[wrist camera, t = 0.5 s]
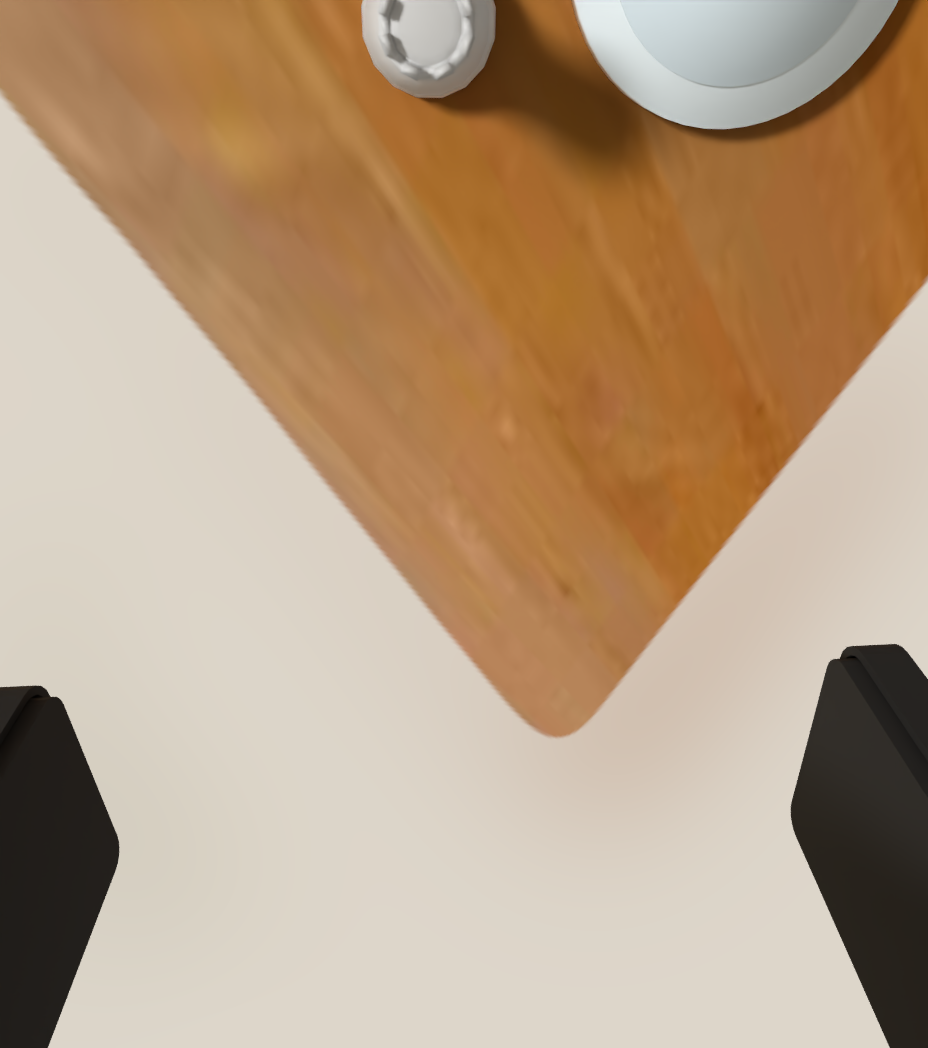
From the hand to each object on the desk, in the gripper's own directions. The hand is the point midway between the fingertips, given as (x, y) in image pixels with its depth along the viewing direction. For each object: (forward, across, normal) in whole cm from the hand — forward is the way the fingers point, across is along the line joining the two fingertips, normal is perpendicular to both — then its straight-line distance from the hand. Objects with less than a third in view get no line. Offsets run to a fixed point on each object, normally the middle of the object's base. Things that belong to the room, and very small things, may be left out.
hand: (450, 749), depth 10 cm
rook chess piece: (+25, 0, -8) cm, 26 cm away
